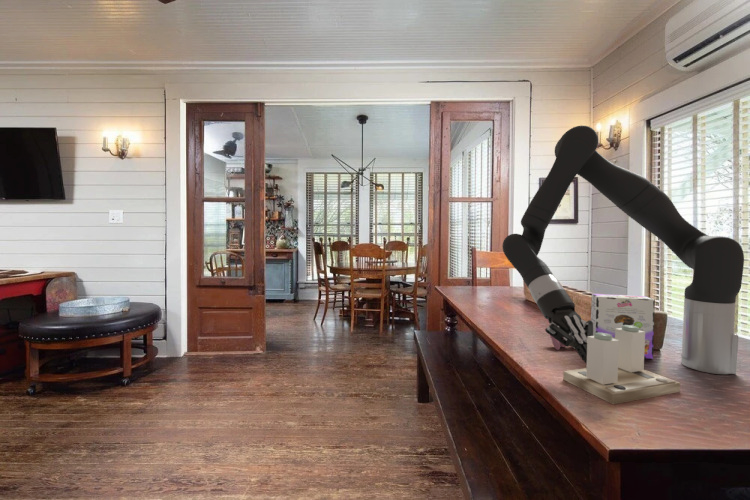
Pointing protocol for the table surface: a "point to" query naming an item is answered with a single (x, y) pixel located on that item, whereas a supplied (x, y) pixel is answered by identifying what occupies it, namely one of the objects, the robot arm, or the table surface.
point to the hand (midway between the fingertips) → (591, 361)
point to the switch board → (624, 385)
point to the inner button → (630, 348)
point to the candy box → (624, 316)
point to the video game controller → (557, 343)
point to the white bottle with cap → (602, 358)
